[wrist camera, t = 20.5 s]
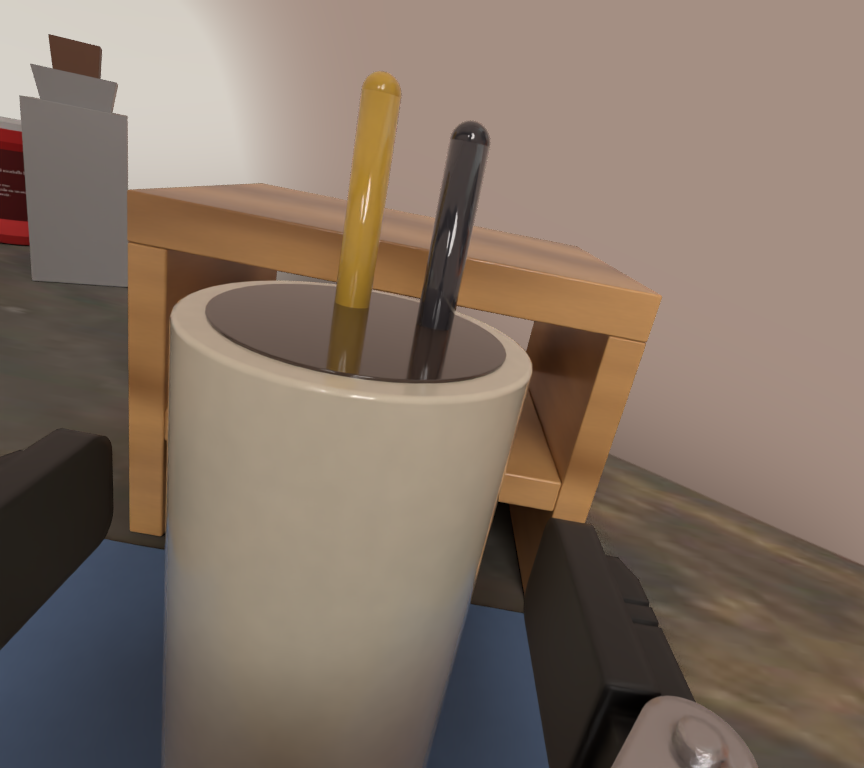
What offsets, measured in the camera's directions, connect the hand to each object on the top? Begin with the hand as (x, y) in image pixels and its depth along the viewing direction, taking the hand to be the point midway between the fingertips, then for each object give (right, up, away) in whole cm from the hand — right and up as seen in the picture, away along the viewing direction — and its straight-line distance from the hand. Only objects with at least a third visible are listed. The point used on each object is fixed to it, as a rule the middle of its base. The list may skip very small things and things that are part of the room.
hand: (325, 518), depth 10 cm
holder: (-1, -7, +4) cm, 8 cm away
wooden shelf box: (-1, -2, +16) cm, 16 cm away
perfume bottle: (-29, +12, +39) cm, 50 cm away
